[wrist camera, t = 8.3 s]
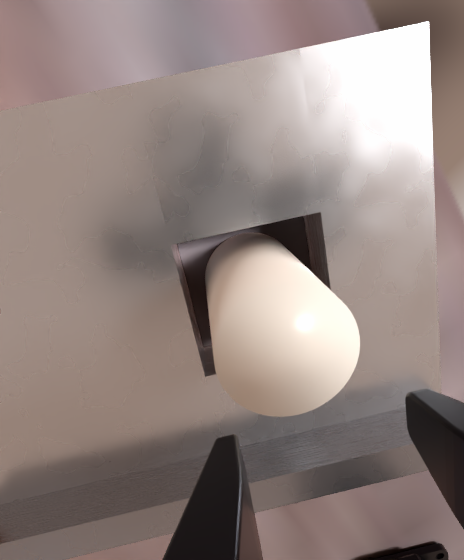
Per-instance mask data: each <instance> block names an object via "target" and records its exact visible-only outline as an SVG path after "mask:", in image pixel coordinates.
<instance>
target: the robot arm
mask: <svg viewBox="0 0 464 560" xmlns="http://www.w3.org/2000/svg"><path fill="white" fill-rule="evenodd" d="M405 406H406V420H407V429H408V433H409V436H410V438H411V440H412V442H413V444H414V445H415V447H416V449H417V451H418V452H419V454H420V456H421V458H422V459H423V461H424V463H425V465H426V466H427V468H428V470H429V472H430V474H431V475H432V477H433V479H434V481H435V482H436V484H437V486H438V488H439V489H440V491H441V493H442V495H443V496H444V498H445V500H446V502H447V503H448V505H449V507H450V508H451V510H452V512H453V513H454V515H455V517H456V518H457V520H458V521H459V523H460V524H461V526H462V527H463V529H464V403H463V402H460V401H458V400H455V399H453V398H450V397H448V396H445V395H443V394H440V393H438V392H435V391H433V390H430V389H420V390H416V391H412V392H408V393H407V394H406V397H405ZM163 560H263V557H262V551H261V546H260V540H259V535H258V530H257V525H256V519H255V514H254V509H253V504H252V499H251V493H250V488H249V483H248V478H247V473H246V468H245V464H244V460H243V456H242V452H241V448H240V443H239V439H238V436H237V435H236V434H231V435H227V436H223V437H219V438H217V439H216V440H215V442H214V444H213V446H212V449H211V451H210V453H209V455H208V458H207V460H206V462H205V464H204V467H203V469H202V471H201V473H200V476H199V478H198V480H197V483H196V485H195V487H194V489H193V492H192V494H191V496H190V498H189V501H188V503H187V505H186V507H185V510H184V512H183V514H182V517H181V519H180V521H179V523H178V526H177V528H176V530H175V532H174V535H173V537H172V539H171V541H170V544H169V546H168V548H167V551H166V553H165V555H164V557H163ZM373 560H448V552H447V550H446V549H445V547H444V546H443V545H442V544H439V543H438V544H433V545H429V546H425V547H421V548H417V549H413V550H409V551H405V552H401V553H397V554H393V555H389V556H385V557H381V558H377V559H373Z"/></svg>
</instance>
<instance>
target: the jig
mask: <svg viewBox="0 0 464 560" xmlns="http://www.w3.org/2000/svg"><path fill="white" fill-rule="evenodd" d="M300 216H304V222H305V228H306V235H307V242H308V249H309V256H310V263H311V270H312V273H313V274H314V275H315V276H316V277H317V278H318V279H319V280H320V281H321V282H322V283H323V284H324V285H326V286H327V287H328V288H329V289H330V290H331V291H332V292H333V293H334V294H335V295H336V296H337V297H338V298H339V299H340V300H341V301H342V302H343V303H344V304H345V305H346V306H347V307H348V309H349V310H350V311H351V313H352V315H353V317H354V319H355V320H356V323H357V326H358V330H359V335H360V351H359V357H358V361H357V364H356V367H355V369H354V372H353V373H352V375H351V377H350V379H349V380H348V382H347V383H346V384H345V386H344V387H343V388H342V389H341V390H340V391H339V393H337V394H336V395H335V396H334V397H333V398H332V399H330V400H329V401H328V402H326V403H325V404H323V405H321V406H319V407H318V408H316V409H313V410H311V411H309V412H306V413H302V414H299V415H293V416H285V417H274V416H266V415H261V414H258V413H255V412H252V411H250V410H248V409H246V408H244V407H242V406H241V405H239V404H238V403H237V402H235V401H234V400H233V399H232V398H231V397H230V396H229V395H228V394H227V393H226V391H225V390H224V389H223V387H222V385H221V383H220V381H219V379H218V377H217V374H216V371H215V365H214V357H213V348H212V346H208V347H204V348H203V344H202V340H201V336H200V332H199V328H198V324H197V321H196V317H195V313H194V309H193V305H192V301H191V297H190V293H189V289H188V285H187V281H186V278H185V274H184V270H183V266H182V262H181V258H180V254H179V250H178V246H177V244H178V243H183V242H187V241H192V240H196V239H201V238H205V237H210V236H214V235H219V234H223V233H228V232H232V231H237V230H241V229H246V228H250V227H255V226H259V225H264V224H268V223H273V222H277V221H282V220H286V219H291V218H295V217H300ZM420 389H430V390H433V391H435V392H438V393H440V394H441V370H440V341H439V312H438V282H437V253H436V224H435V195H434V166H433V137H432V108H431V79H430V52H429V23H428V22H426V23H420V24H415V25H411V26H406V27H402V28H396V29H392V30H387V31H382V32H377V33H372V34H367V35H363V36H358V37H353V38H348V39H343V40H339V41H334V42H329V43H324V44H319V45H315V46H310V47H305V48H300V49H295V50H291V51H286V52H281V53H276V54H271V55H267V56H262V57H257V58H252V59H247V60H242V61H238V62H233V63H228V64H223V65H218V66H214V67H209V68H204V69H199V70H194V71H190V72H185V73H180V74H175V75H170V76H166V77H161V78H156V79H151V80H146V81H142V82H137V83H132V84H127V85H122V86H118V87H113V88H108V89H103V90H98V91H94V92H89V93H84V94H79V95H74V96H70V97H65V98H60V99H55V100H50V101H46V102H41V103H36V104H31V105H26V106H21V107H17V108H12V109H7V110H2V111H0V560H65V559H69V558H73V557H77V556H81V555H86V554H90V553H94V552H98V551H102V550H106V549H110V548H114V547H118V546H122V545H126V544H130V543H134V542H138V541H142V540H147V539H151V538H155V537H159V536H163V535H167V534H171V533H174V532H175V530H176V528H177V526H178V523H179V521H180V519H181V517H182V514H183V512H184V510H185V507H186V505H187V503H188V501H189V498H190V496H191V494H192V492H193V489H194V487H195V485H196V483H197V480H198V478H199V476H200V473H201V471H202V469H203V467H204V464H205V462H206V460H207V458H208V455H209V453H210V451H211V449H212V446H213V444H214V442H215V440H216V439H217V438H219V437H223V436H227V435H231V434H236V435H237V436H238V439H239V443H240V448H241V452H242V456H243V460H244V464H245V468H246V473H247V478H248V483H249V488H250V493H251V499H252V504H253V509H254V513H256V512H260V511H264V510H269V509H273V508H277V507H281V506H285V505H289V504H293V503H297V502H301V501H305V500H309V499H313V498H317V497H321V496H326V495H330V494H334V493H338V492H342V491H346V490H350V489H354V488H358V487H362V486H366V485H370V484H374V483H378V482H382V481H387V480H391V479H395V478H399V477H403V476H407V475H411V474H415V473H419V472H423V471H427V470H428V468H427V466H426V465H425V463H424V461H423V459H422V458H421V456H420V454H419V452H418V451H417V449H416V447H415V445H414V444H413V442H412V440H411V438H410V436H409V433H408V429H407V420H406V406H405V397H406V394H407V393H408V392H412V391H416V390H420Z"/></svg>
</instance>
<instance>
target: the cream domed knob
mask: <svg viewBox="0 0 464 560" xmlns="http://www.w3.org/2000/svg"><path fill="white" fill-rule="evenodd" d="M205 285H206V294H207V303H208V312H209V321H210V330H211V339H212V348H213V357H214V365H215V371H216V374H217V377H218V379H219V381H220V383H221V385H222V387H223V389H224V390H225V391H226V393H227V394H228V395H229V396H230V397H231V398H232V399H233V400H234V401H235V402H237V403H238V404H239V405H241V406H242V407H244V408H246V409H248V410H250V411H252V412H255V413H258V414H261V415H266V416H274V417H285V416H293V415H299V414H302V413H306V412H309V411H311V410H313V409H316V408H318V407H319V406H321V405H323V404H325V403H326V402H328V401H329V400H330V399H332V398H333V397H334V396H335V395H336V394H337V393H339V391H340V390H341V389H342V388H343V387H344V386H345V384H346V383H347V382H348V380H349V379H350V377H351V375H352V373H353V372H354V369H355V367H356V364H357V361H358V357H359V351H360V335H359V330H358V326H357V323H356V320H355V319H354V317H353V315H352V313H351V311H350V310H349V309H348V307H347V306H346V305H345V304H344V303H343V302H342V301H341V300H340V299H339V298H338V297H337V296H336V295H335V294H334V293H333V292H332V291H331V290H330V289H329V288H328V287H327V286H326V285H324V284H323V283H322V282H321V281H320V280H319V279H318V278H317V277H316V276H315V275H314V274H313V273H312V272H311V271H310V270H309V269H308V268H307V267H306V266H305V265H304V264H302V263H301V262H300V261H299V260H298V259H297V258H296V257H295V256H294V255H293V254H292V253H291V252H290V251H289V250H288V249H287V248H286V247H285V246H284V245H283V244H281V243H280V242H279V241H278V240H276V239H275V238H273V237H271V236H268V235H266V234H262V233H255V232H248V233H242V234H238V235H235V236H233V237H230V238H229V239H227V240H225V241H224V242H223V243H221V244H220V245H219V246H218V247H217V248H216V249H215V251H214V252H213V253H212V255H211V257H210V259H209V261H208V263H207V267H206V272H205Z"/></svg>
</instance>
